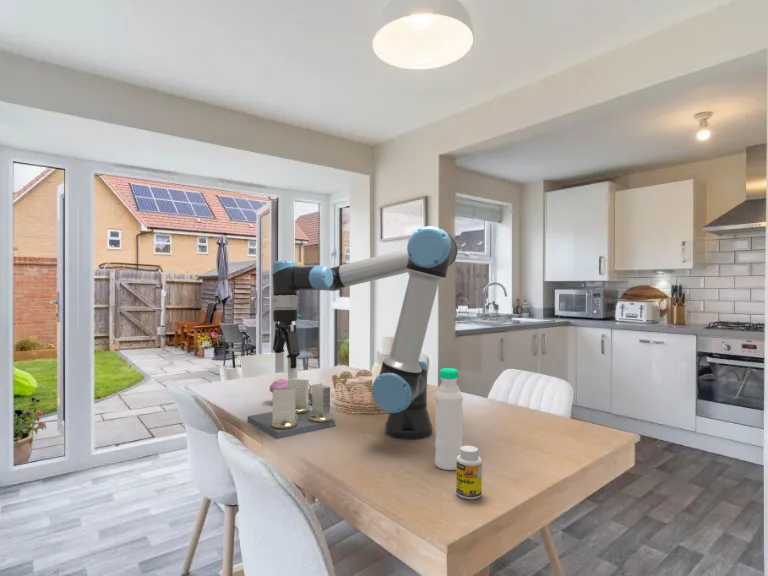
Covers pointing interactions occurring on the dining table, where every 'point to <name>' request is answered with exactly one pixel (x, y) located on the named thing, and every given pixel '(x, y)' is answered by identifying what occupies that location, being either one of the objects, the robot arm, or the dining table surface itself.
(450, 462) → the water bottle
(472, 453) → the supplement bottle
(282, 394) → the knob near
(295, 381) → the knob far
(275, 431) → the board
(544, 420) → the dining table surface
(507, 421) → the dining table surface
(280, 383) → the cupcake
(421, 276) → the robot arm
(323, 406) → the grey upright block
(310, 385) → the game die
